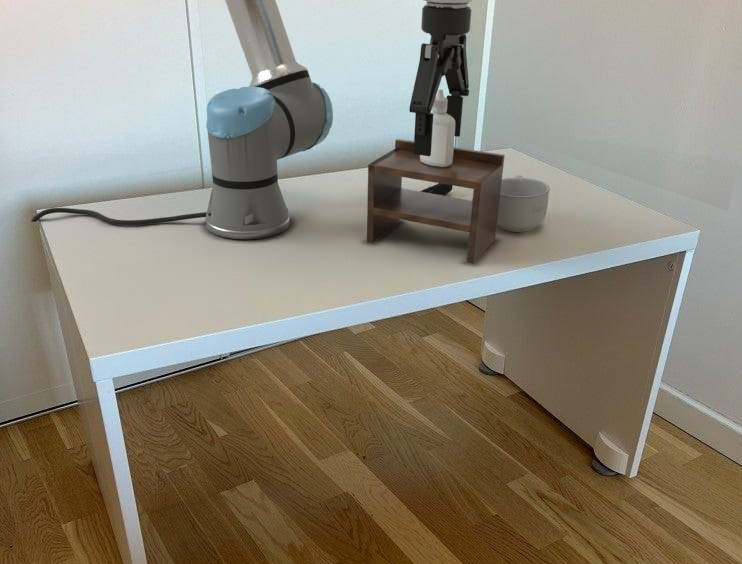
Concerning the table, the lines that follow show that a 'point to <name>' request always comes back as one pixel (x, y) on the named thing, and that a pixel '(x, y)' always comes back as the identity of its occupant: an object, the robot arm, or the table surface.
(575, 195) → the table surface
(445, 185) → the electric trimmer
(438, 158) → the eye dropper bottle
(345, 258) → the table surface
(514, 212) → the teacup
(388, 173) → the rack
